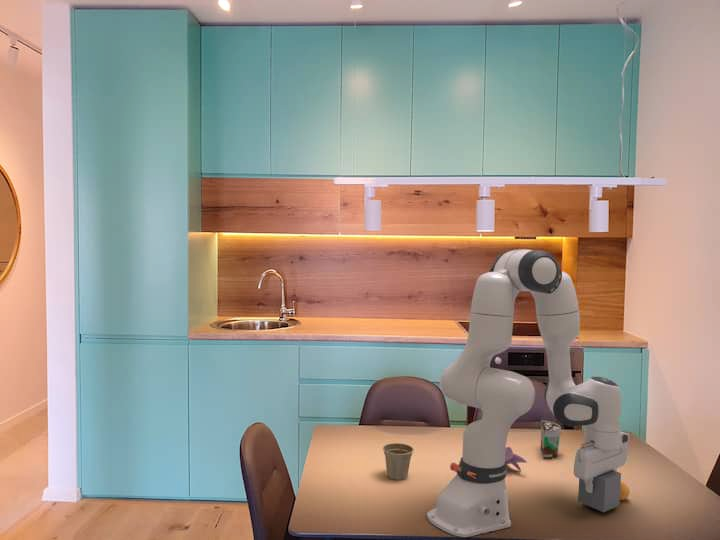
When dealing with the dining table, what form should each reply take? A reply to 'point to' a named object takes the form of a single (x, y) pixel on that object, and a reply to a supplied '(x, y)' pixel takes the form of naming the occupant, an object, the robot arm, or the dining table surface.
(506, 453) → the lily
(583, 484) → the gray rectangular box
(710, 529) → the dining table surface
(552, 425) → the food container
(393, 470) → the flower pot
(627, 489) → the ball
